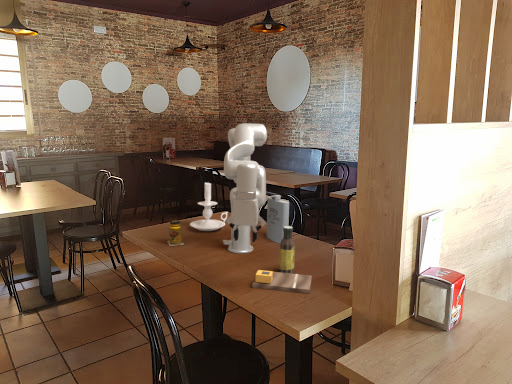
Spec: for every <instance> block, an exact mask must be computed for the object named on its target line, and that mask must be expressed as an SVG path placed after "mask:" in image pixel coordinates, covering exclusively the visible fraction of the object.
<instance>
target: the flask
mask: <svg viewBox="0 0 512 384" xmlns="http://www.w3.org/2000/svg"><path fill="white" fill-rule="evenodd" d="M281 197H282V195H280V194H273V195H270V196H268V197H267V207H266V211H267V212H266V213H267V214H266V235H265V236H266V238H267V239H269V240H270V241H272V242H274V243H277V244H279V245H280V244H281V241H282V239H283V235H284V231H283V227H284V226H289V222H290V221H289V220H290V219H289V218H290V201H286V200H282V199H281Z"/></svg>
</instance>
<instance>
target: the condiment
mask: <svg viewBox="0 0 512 384" xmlns="http://www.w3.org/2000/svg"><path fill="white" fill-rule="evenodd" d="M168 229H169V231H168V232H169V233H168V234H169V239H168V240H167V241H166V242H167V243H168V245H169V246H170V247H171V246H172V247H173V246H182V245H184V242H183V241H182V225H181V221H180V220H178V219H173V220H170V221H169V228H168Z"/></svg>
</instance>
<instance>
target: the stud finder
mask: <svg viewBox="0 0 512 384" xmlns="http://www.w3.org/2000/svg"><path fill="white" fill-rule="evenodd" d="M273 272H274V271H272V270H262V269H258V270H257V271H256V273H255V278H256V282H261V283H270V284H271V282H272V279H273Z"/></svg>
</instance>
